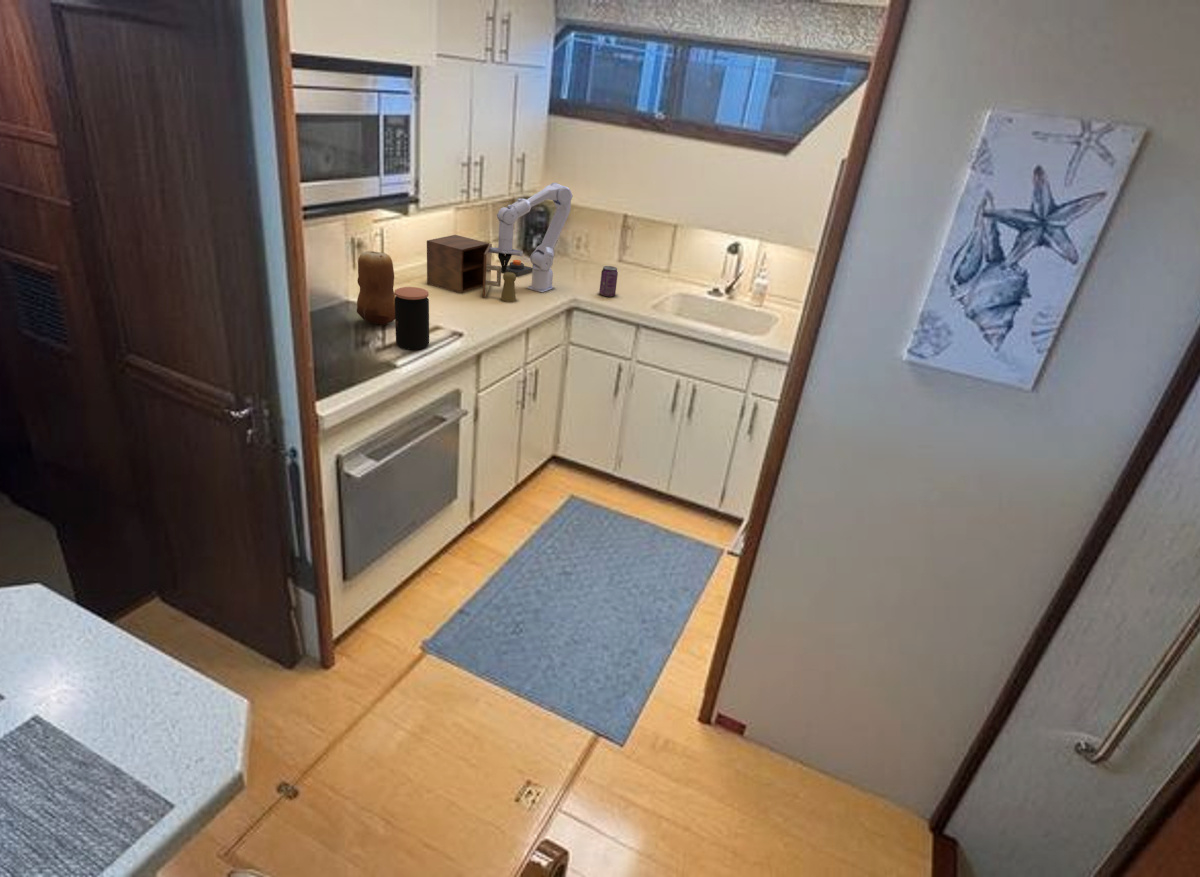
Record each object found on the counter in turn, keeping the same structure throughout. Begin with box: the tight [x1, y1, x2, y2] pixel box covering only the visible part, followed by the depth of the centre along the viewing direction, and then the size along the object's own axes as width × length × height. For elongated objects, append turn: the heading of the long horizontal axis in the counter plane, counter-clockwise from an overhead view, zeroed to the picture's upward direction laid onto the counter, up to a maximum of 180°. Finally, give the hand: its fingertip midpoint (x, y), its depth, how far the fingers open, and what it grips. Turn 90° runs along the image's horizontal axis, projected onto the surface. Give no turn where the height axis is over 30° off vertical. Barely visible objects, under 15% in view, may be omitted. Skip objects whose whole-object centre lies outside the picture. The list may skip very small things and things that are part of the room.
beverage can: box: [598, 265, 619, 297], centre depth 300 cm, size 7×7×12 cm
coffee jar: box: [394, 286, 430, 351], centre depth 224 cm, size 11×11×18 cm
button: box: [512, 259, 522, 265], centre depth 317 cm, size 4×4×2 cm
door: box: [482, 243, 502, 299], centre depth 284 cm, size 7×18×18 cm, turn 1°
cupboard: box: [426, 234, 490, 294], centre depth 288 cm, size 18×18×18 cm
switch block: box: [501, 261, 533, 278], centre depth 319 cm, size 12×10×4 cm
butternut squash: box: [356, 250, 396, 326], centre depth 236 cm, size 14×13×25 cm
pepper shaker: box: [500, 272, 517, 303], centre depth 279 cm, size 6×6×11 cm
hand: (504, 271), depth 287 cm, fingers closed
